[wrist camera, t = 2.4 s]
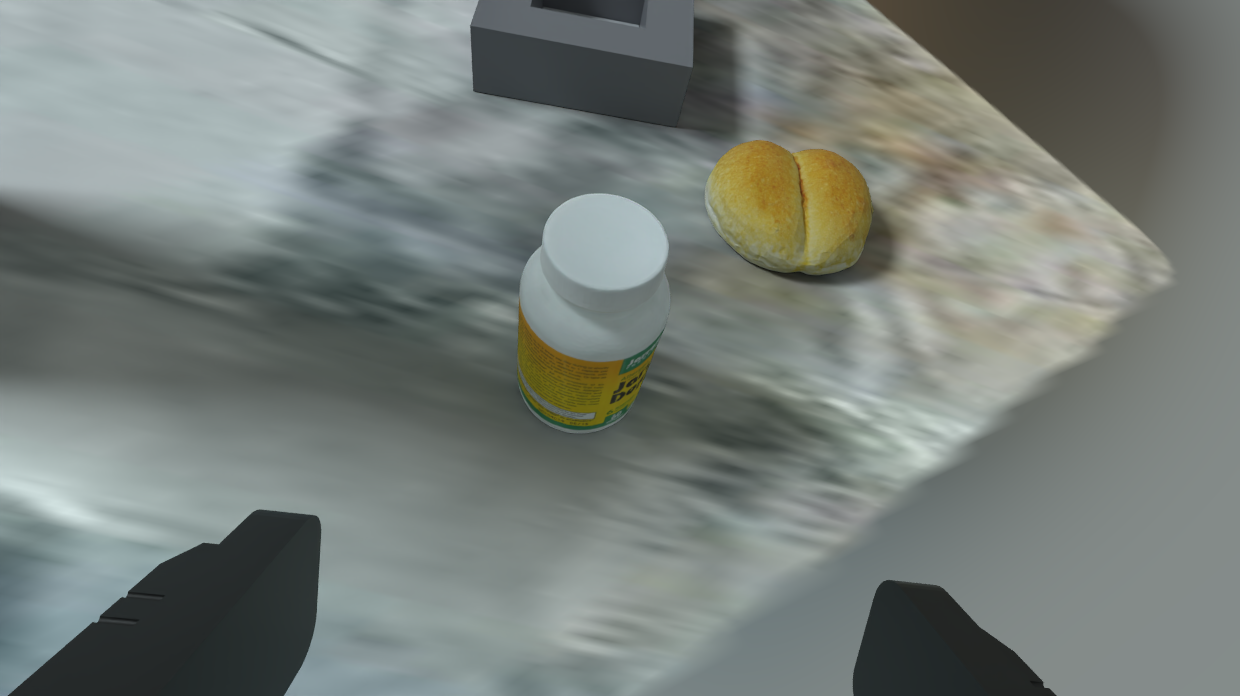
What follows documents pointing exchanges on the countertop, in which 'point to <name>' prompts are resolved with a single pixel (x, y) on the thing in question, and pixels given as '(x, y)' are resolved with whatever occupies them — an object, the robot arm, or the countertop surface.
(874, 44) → the countertop surface
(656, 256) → the supplement bottle
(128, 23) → the countertop surface
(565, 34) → the socket block
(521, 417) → the countertop surface
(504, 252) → the countertop surface
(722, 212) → the bread roll
